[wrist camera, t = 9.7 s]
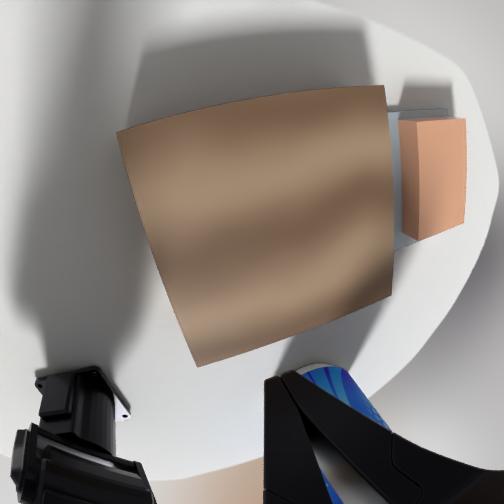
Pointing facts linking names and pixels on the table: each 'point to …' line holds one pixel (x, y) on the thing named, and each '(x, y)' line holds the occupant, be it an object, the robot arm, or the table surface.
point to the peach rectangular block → (432, 174)
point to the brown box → (267, 213)
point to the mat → (393, 117)
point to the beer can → (340, 398)
